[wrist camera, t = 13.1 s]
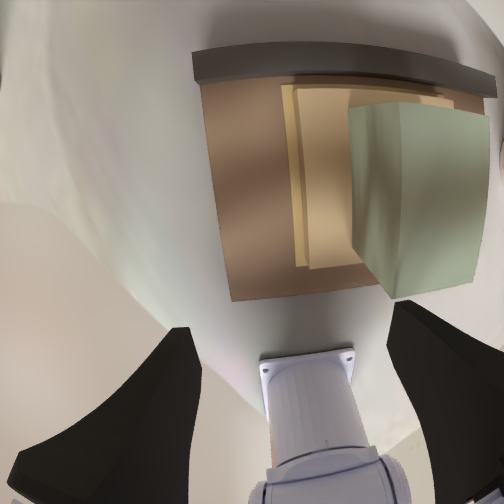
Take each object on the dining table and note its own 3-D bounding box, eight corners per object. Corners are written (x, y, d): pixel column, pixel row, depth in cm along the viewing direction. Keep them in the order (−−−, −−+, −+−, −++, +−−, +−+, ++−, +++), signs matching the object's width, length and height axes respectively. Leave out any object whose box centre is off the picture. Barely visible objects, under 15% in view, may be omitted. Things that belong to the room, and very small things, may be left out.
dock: (458, 256, 19) (483, 276, 16) (233, 285, 19) (230, 316, 16) (463, 78, 13) (494, 76, 10) (202, 67, 14) (191, 52, 11)
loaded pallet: (435, 241, 16) (497, 292, 10) (304, 257, 16) (333, 329, 10) (438, 101, 12) (517, 102, 6) (291, 93, 13) (325, 66, 7)
